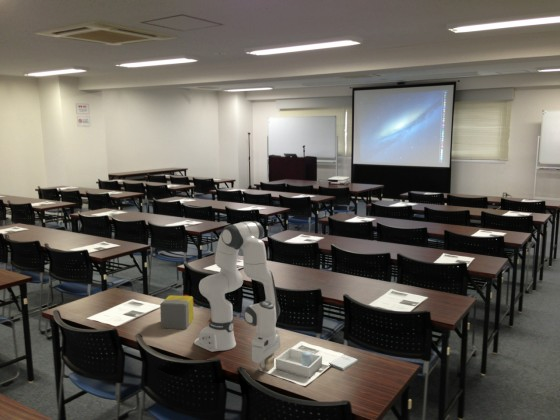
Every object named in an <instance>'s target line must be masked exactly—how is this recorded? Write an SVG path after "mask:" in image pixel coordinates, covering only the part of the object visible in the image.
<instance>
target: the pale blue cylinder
mask: <svg viewBox="0 0 560 420" xmlns="http://www.w3.org/2000/svg"><path fill="white" fill-rule="evenodd" d="M303 351H304V350H303ZM312 354H313V352H312V351H308V350H306V351H304V352H302V365H303V366H307V367H309V366H310V365H311V364H312Z"/></svg>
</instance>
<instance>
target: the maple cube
mask: <svg viewBox="0 0 560 420" xmlns="http://www.w3.org/2000/svg"><path fill="white" fill-rule="evenodd" d="M264 363H266V366H265V367H264V368H263V367H261V363H259V369H260V370H261V369H262V370H265V371H270V370H272V369H273V368H274V367H275V356H268V357H267V358H266V359H265V361H264Z"/></svg>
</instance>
